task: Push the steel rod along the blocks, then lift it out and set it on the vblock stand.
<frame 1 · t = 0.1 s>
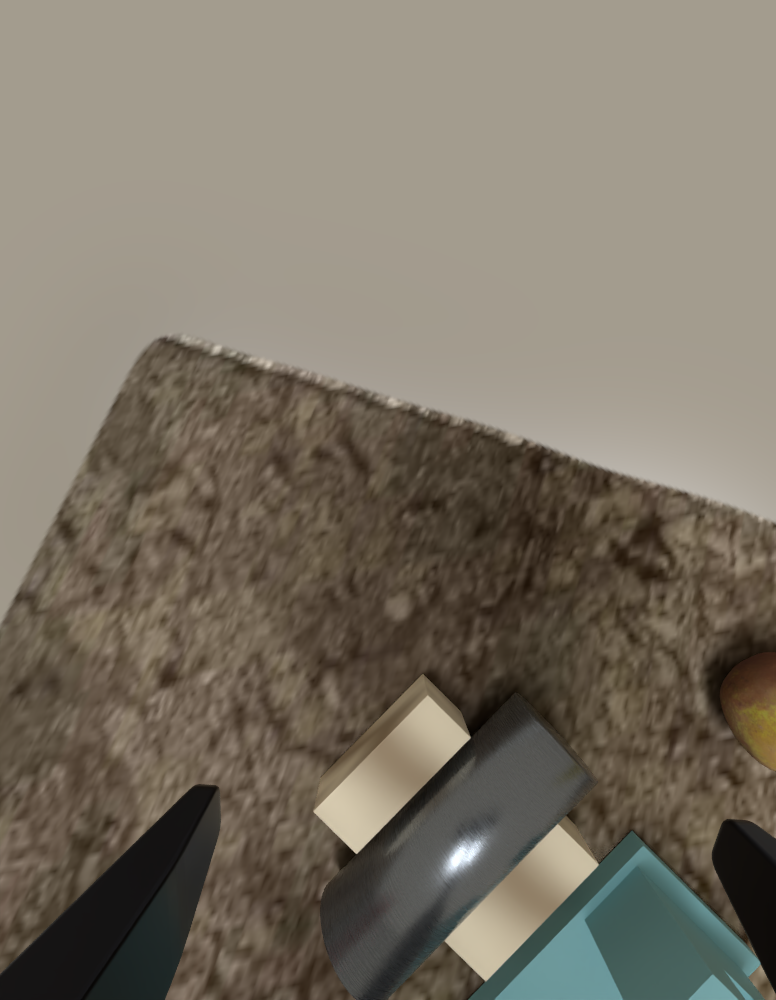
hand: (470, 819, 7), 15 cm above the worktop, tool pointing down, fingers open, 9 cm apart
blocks: (448, 801, 23), on the worktop
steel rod: (447, 798, 23), on the worktop
fruit: (740, 687, 23), on the worktop
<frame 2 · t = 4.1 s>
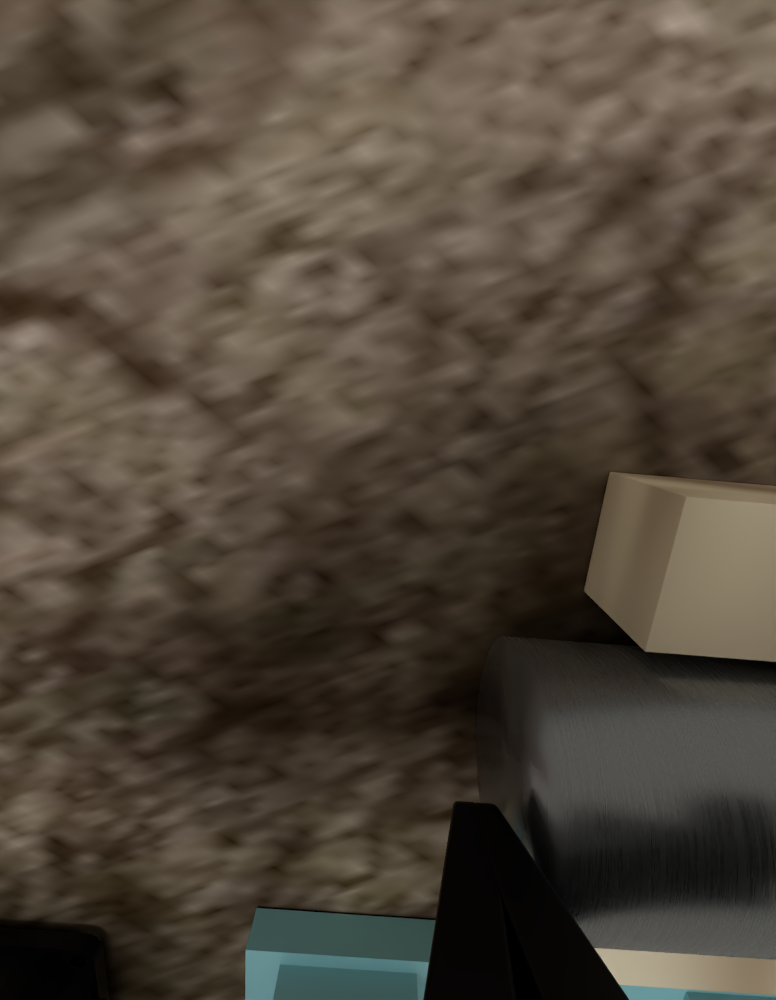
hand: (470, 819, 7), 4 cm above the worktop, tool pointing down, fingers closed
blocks: (710, 706, 11), on the worktop
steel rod: (738, 707, 11), on the worktop, touching gripper
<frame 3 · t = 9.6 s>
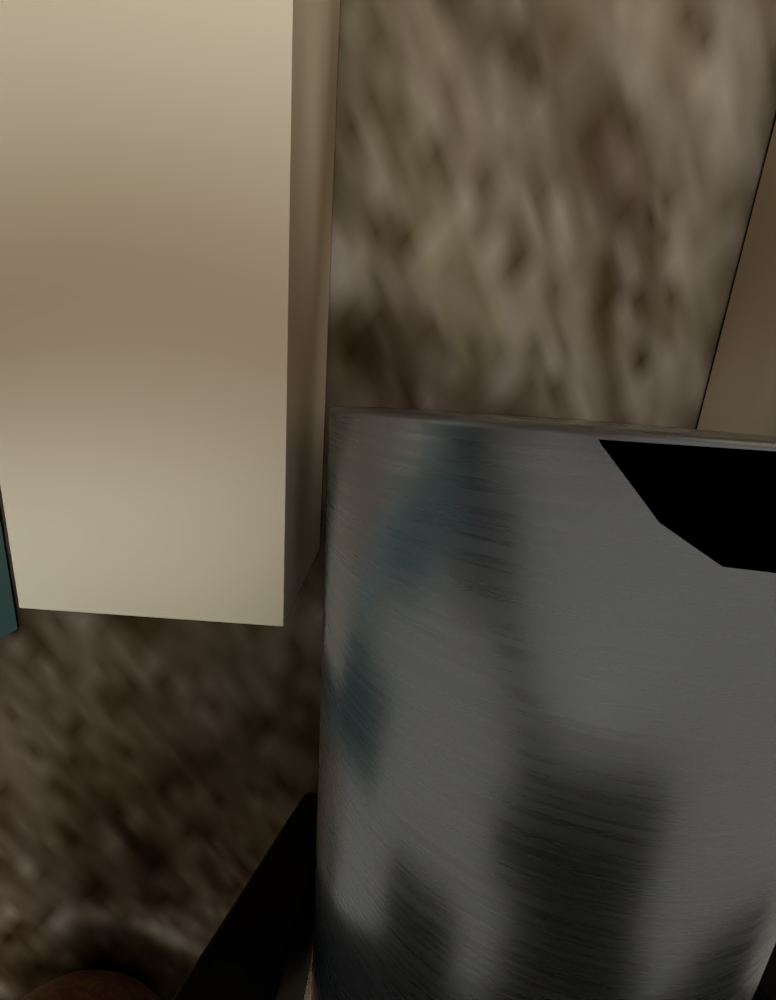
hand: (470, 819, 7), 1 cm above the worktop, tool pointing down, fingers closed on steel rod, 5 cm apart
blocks: (526, 315, 6), on the worktop
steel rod: (454, 761, 8), on the worktop, touching gripper
fruit: (122, 985, 10), on the worktop
when the fingers open (8 cm above the worktop, at t = 14.1 s): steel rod drops 1 cm, resting on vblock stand.
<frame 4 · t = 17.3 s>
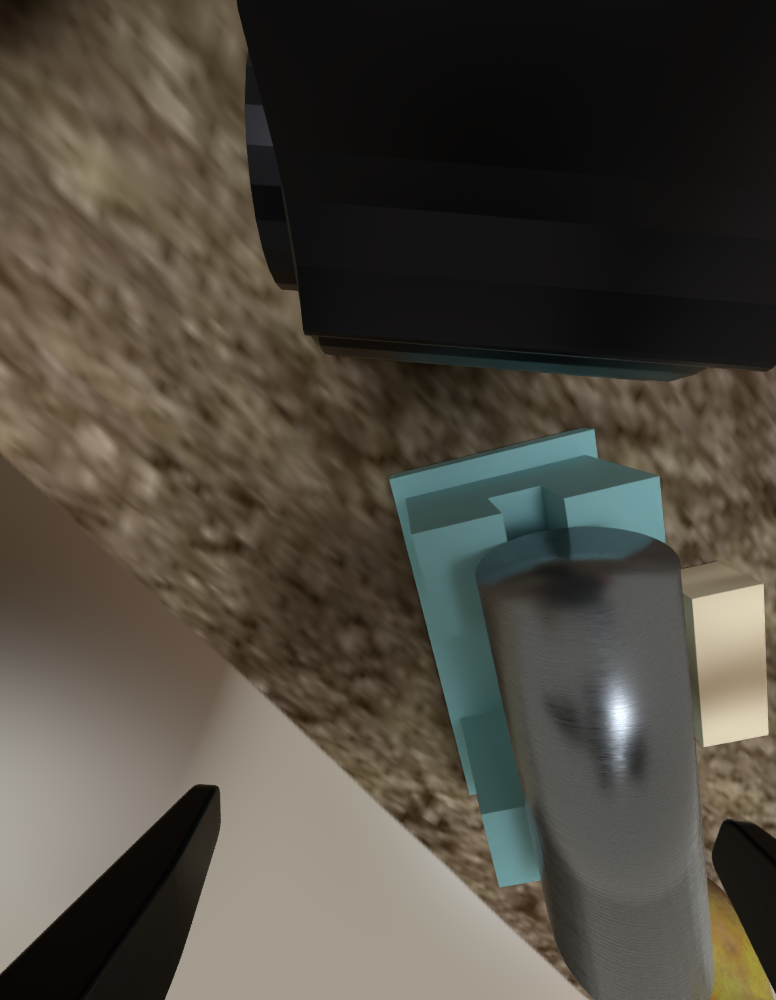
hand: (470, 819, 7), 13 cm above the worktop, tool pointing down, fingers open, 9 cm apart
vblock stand: (518, 623, 21), on the worktop
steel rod: (562, 707, 15), point 6 cm above the worktop, touching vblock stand
fruit: (657, 871, 25), on the worktop
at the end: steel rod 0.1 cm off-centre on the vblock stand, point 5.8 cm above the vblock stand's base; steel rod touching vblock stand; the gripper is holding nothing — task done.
